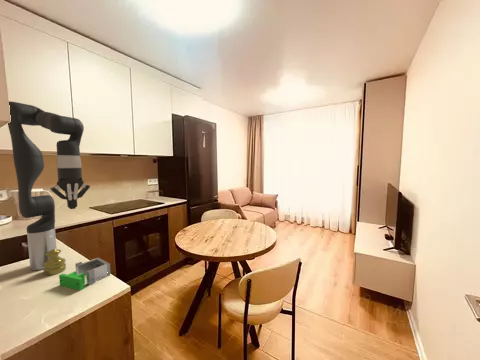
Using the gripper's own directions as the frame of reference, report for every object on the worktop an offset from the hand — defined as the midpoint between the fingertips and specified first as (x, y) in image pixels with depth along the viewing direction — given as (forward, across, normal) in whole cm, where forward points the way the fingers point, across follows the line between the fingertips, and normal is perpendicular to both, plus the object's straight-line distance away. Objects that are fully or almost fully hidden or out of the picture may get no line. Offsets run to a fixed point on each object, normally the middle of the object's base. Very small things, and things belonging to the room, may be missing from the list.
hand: (72, 208), depth 82 cm
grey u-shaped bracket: (+29, -4, +6) cm, 30 cm away
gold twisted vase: (+30, +4, -13) cm, 33 cm away
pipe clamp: (+30, +3, +7) cm, 31 cm away
